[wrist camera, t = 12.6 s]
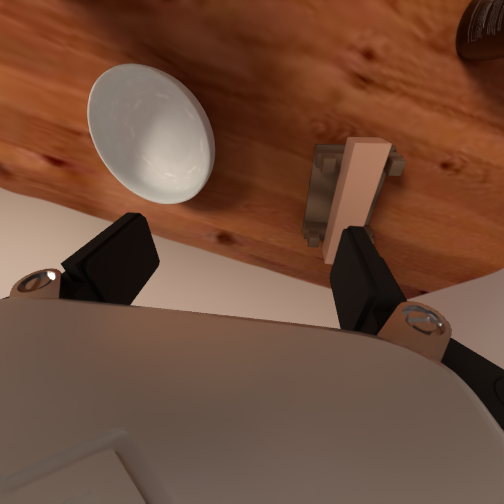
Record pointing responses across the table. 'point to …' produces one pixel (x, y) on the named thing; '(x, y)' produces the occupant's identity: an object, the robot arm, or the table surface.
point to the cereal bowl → (151, 133)
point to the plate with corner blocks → (325, 186)
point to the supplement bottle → (482, 31)
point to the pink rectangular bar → (354, 188)
